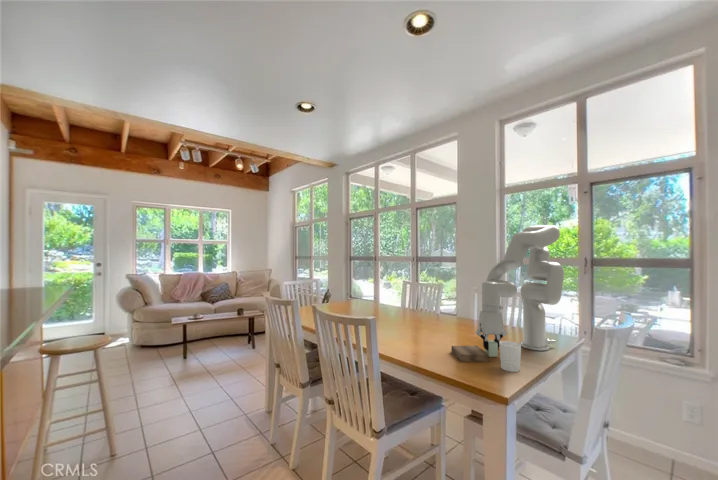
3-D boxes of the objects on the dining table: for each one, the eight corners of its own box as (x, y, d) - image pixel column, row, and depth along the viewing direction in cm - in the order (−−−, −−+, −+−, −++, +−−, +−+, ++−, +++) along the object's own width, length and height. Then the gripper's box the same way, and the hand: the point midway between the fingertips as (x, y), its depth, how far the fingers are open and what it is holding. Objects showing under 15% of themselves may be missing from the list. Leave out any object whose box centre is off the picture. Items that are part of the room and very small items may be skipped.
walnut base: (476, 352, 142) (476, 345, 142) (488, 361, 130) (488, 354, 130) (451, 352, 141) (451, 345, 141) (461, 361, 129) (461, 354, 129)
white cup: (495, 365, 126) (495, 341, 126) (513, 364, 126) (513, 340, 127) (506, 373, 118) (506, 347, 118) (525, 372, 118) (525, 346, 119)
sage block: (493, 353, 140) (493, 340, 140) (497, 356, 136) (497, 343, 136) (485, 353, 140) (484, 340, 140) (489, 356, 136) (488, 343, 136)
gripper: (504, 307, 143) (505, 346, 142) (469, 307, 142) (469, 346, 142) (513, 310, 135) (513, 351, 135) (476, 310, 135) (476, 352, 134)
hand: (491, 348), depth 138 cm, fingers closed on sage block, 4 cm apart
